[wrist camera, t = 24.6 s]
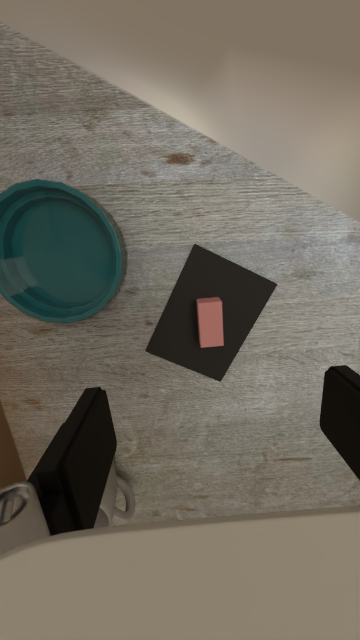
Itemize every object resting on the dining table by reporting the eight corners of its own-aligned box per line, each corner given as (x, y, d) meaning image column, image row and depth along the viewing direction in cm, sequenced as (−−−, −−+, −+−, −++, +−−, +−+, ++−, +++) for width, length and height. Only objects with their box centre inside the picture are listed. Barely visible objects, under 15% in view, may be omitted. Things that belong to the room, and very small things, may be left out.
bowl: (21, 163, 28) (-4, 151, 24) (146, 223, 30) (141, 221, 26) (-8, 285, 32) (-32, 291, 28) (104, 330, 34) (95, 341, 30)
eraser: (196, 298, 32) (197, 303, 30) (218, 296, 32) (222, 301, 30) (199, 340, 34) (200, 348, 32) (220, 338, 34) (223, 345, 32)
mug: (64, 467, 42) (32, 532, 32) (84, 430, 39) (56, 488, 30) (128, 491, 44) (115, 559, 34) (150, 457, 41) (144, 520, 32)
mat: (194, 243, 31) (194, 243, 30) (276, 283, 32) (277, 284, 32) (146, 350, 35) (145, 351, 35) (220, 380, 37) (220, 381, 36)
